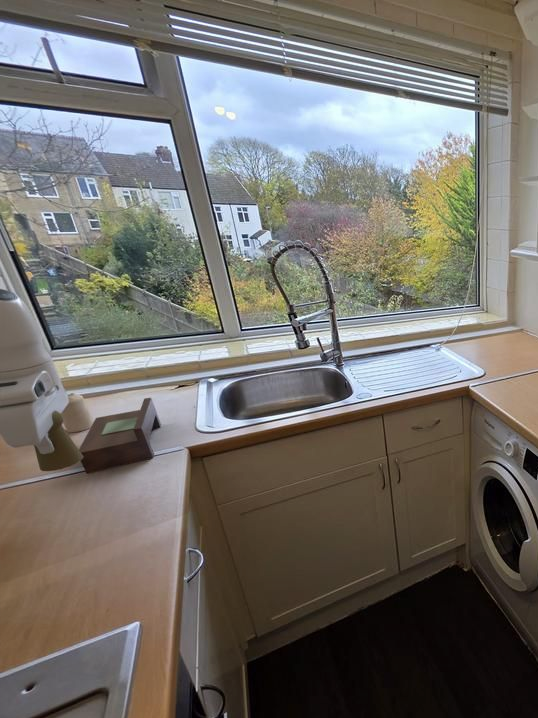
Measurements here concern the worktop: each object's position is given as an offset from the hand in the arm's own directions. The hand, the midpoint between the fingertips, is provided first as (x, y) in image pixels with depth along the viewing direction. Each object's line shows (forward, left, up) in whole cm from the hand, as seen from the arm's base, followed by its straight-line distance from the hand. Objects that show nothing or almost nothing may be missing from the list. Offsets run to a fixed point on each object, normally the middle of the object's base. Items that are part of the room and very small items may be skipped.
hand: (53, 444), depth 79 cm
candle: (-8, +42, -14) cm, 45 cm away
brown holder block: (+4, +23, -14) cm, 27 cm away
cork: (0, 0, -4) cm, 4 cm away
